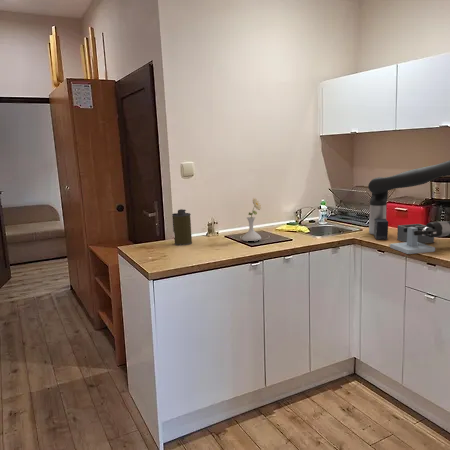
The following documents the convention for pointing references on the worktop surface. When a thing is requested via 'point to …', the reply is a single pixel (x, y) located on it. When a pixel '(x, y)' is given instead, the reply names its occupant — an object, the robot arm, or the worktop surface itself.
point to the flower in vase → (251, 234)
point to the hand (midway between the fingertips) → (409, 231)
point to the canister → (182, 228)
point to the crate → (421, 239)
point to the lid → (412, 244)
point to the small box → (381, 229)
